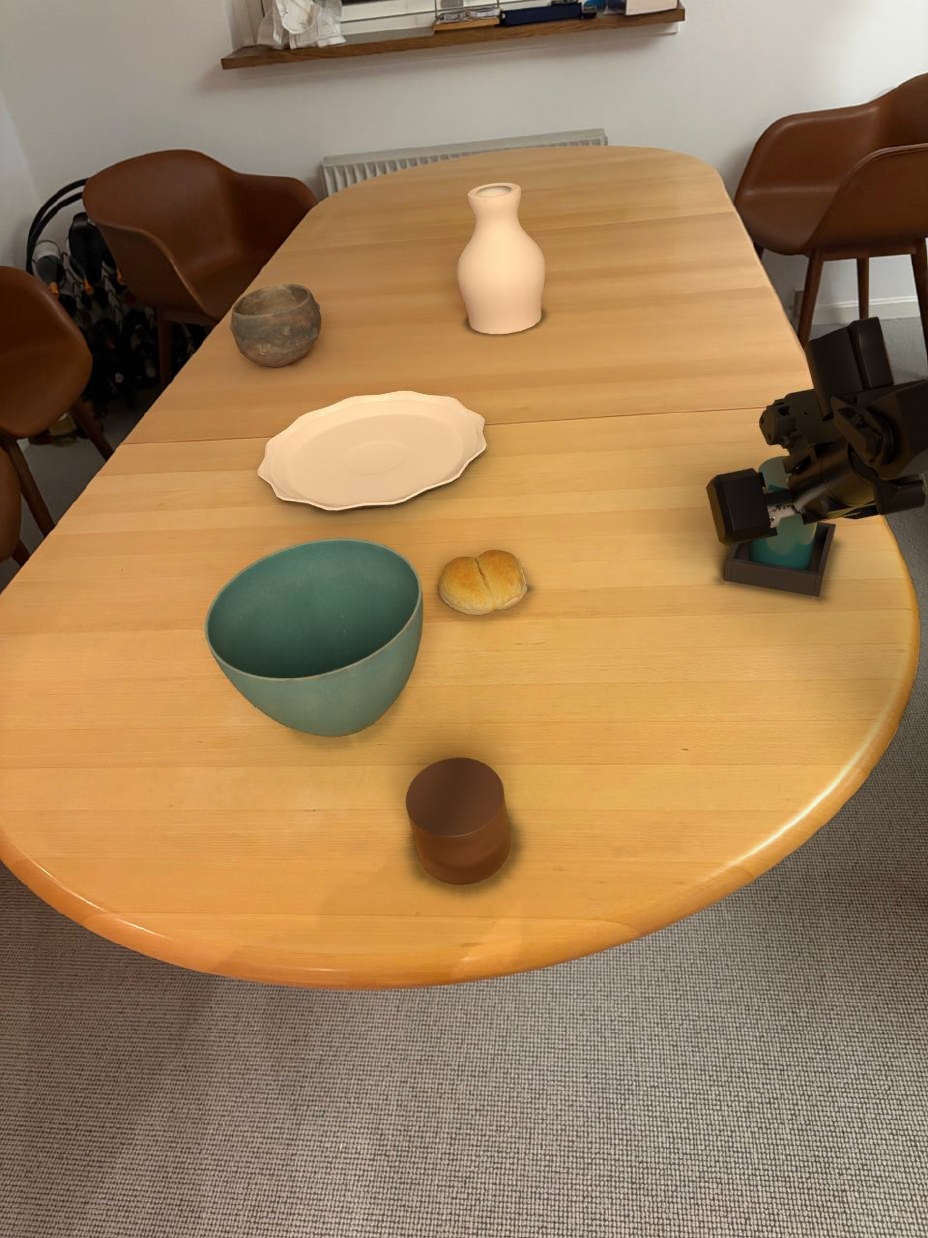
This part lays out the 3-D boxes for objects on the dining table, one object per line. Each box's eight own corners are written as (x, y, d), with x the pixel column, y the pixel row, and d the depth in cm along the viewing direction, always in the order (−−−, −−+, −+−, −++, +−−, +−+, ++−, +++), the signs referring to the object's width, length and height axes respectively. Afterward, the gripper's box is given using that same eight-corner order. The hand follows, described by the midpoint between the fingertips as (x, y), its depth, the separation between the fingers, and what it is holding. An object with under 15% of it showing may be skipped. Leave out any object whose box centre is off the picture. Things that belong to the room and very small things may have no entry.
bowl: (332, 335, 149) (319, 275, 142) (324, 374, 137) (309, 311, 131) (251, 345, 150) (234, 286, 143) (236, 385, 138) (217, 323, 131)
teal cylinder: (818, 573, 86) (833, 486, 80) (755, 577, 87) (765, 490, 80) (803, 538, 91) (816, 452, 84) (743, 542, 91) (752, 457, 85)
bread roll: (435, 578, 94) (430, 547, 91) (517, 562, 94) (514, 531, 92) (446, 626, 88) (441, 595, 85) (534, 609, 88) (531, 577, 86)
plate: (532, 464, 109) (530, 447, 108) (318, 554, 100) (313, 537, 98) (419, 386, 130) (417, 371, 128) (233, 456, 120) (228, 440, 119)
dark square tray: (832, 543, 91) (836, 523, 89) (819, 597, 85) (823, 576, 83) (742, 530, 94) (744, 511, 92) (724, 580, 88) (725, 560, 86)
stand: (524, 821, 69) (518, 771, 65) (487, 897, 64) (479, 849, 60) (442, 796, 72) (432, 747, 68) (401, 868, 67) (388, 819, 63)
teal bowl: (459, 752, 75) (439, 646, 67) (247, 804, 73) (201, 701, 65) (422, 621, 89) (402, 520, 81) (243, 662, 87) (205, 563, 79)
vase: (449, 334, 143) (431, 204, 130) (481, 300, 153) (468, 176, 140) (531, 339, 138) (522, 204, 125) (559, 303, 148) (553, 174, 135)
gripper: (938, 354, 73) (849, 417, 88) (721, 396, 72) (669, 452, 87) (973, 484, 72) (876, 524, 87) (754, 528, 71) (695, 561, 86)
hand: (779, 512), depth 87 cm, fingers closed on teal cylinder, 6 cm apart
